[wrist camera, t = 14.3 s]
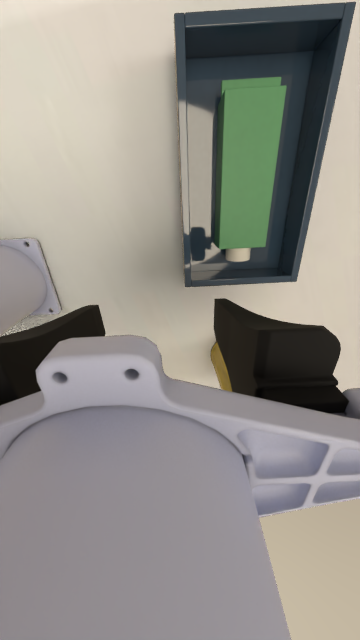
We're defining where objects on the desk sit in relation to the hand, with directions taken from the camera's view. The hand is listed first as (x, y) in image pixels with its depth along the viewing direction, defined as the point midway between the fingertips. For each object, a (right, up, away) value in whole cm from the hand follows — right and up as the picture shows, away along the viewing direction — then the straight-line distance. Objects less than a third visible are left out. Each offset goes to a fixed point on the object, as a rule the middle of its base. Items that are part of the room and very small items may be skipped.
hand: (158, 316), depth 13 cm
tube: (+6, +12, +5) cm, 14 cm away
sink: (+6, +12, +6) cm, 15 cm away
